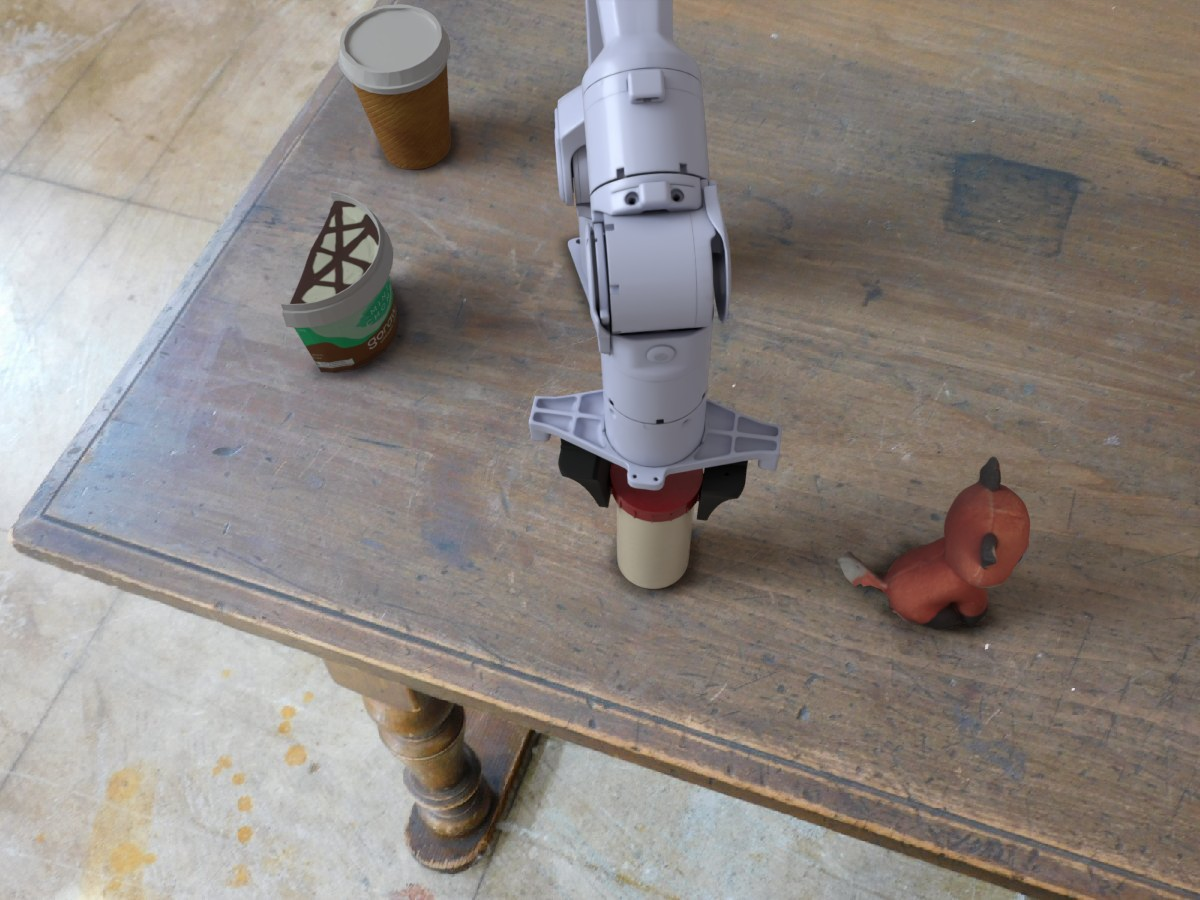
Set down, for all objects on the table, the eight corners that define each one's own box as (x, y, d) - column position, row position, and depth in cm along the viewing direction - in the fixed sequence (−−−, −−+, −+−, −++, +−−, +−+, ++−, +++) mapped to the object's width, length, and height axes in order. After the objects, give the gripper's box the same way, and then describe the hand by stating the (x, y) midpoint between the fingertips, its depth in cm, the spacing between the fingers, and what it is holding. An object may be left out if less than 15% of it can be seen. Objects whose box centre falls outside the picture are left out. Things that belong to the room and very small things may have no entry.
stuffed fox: (831, 532, 78) (859, 449, 68) (988, 538, 78) (1041, 455, 67) (836, 630, 75) (867, 557, 64) (1002, 637, 74) (1059, 565, 64)
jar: (675, 517, 80) (682, 434, 70) (698, 578, 77) (708, 500, 68) (608, 535, 79) (606, 453, 70) (628, 597, 76) (629, 520, 67)
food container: (387, 398, 86) (358, 321, 77) (314, 386, 87) (278, 309, 78) (430, 278, 92) (407, 195, 83) (361, 269, 93) (332, 186, 84)
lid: (648, 428, 72) (648, 417, 71) (721, 476, 69) (722, 466, 68) (590, 488, 69) (590, 477, 68) (664, 540, 67) (664, 530, 66)
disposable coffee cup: (488, 132, 101) (470, 23, 90) (427, 197, 97) (400, 91, 86) (408, 96, 103) (381, -13, 93) (345, 158, 100) (310, 51, 89)
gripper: (508, 425, 57) (532, 540, 69) (784, 459, 55) (760, 571, 67) (535, 321, 61) (553, 446, 72) (794, 350, 59) (770, 473, 70)
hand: (653, 500), depth 70 cm, fingers closed on lid, 6 cm apart
